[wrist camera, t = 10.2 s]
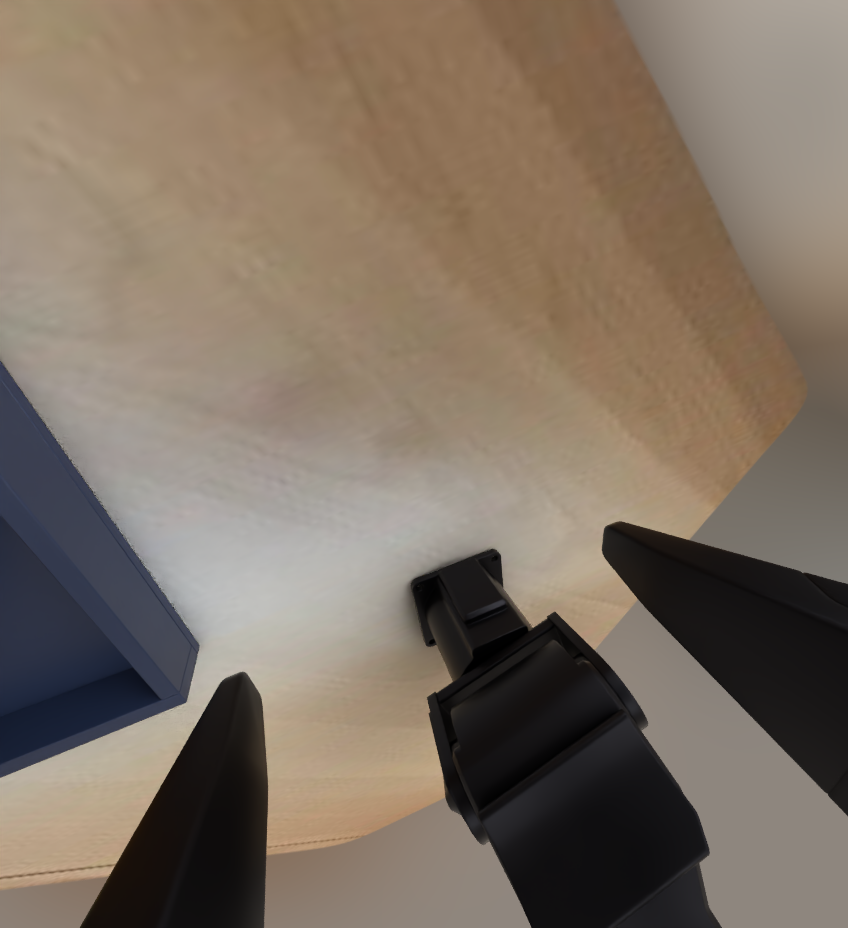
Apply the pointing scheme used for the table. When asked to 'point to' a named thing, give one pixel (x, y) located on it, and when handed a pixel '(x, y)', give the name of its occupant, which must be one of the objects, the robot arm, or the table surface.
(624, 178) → the table surface
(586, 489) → the table surface
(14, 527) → the tray
